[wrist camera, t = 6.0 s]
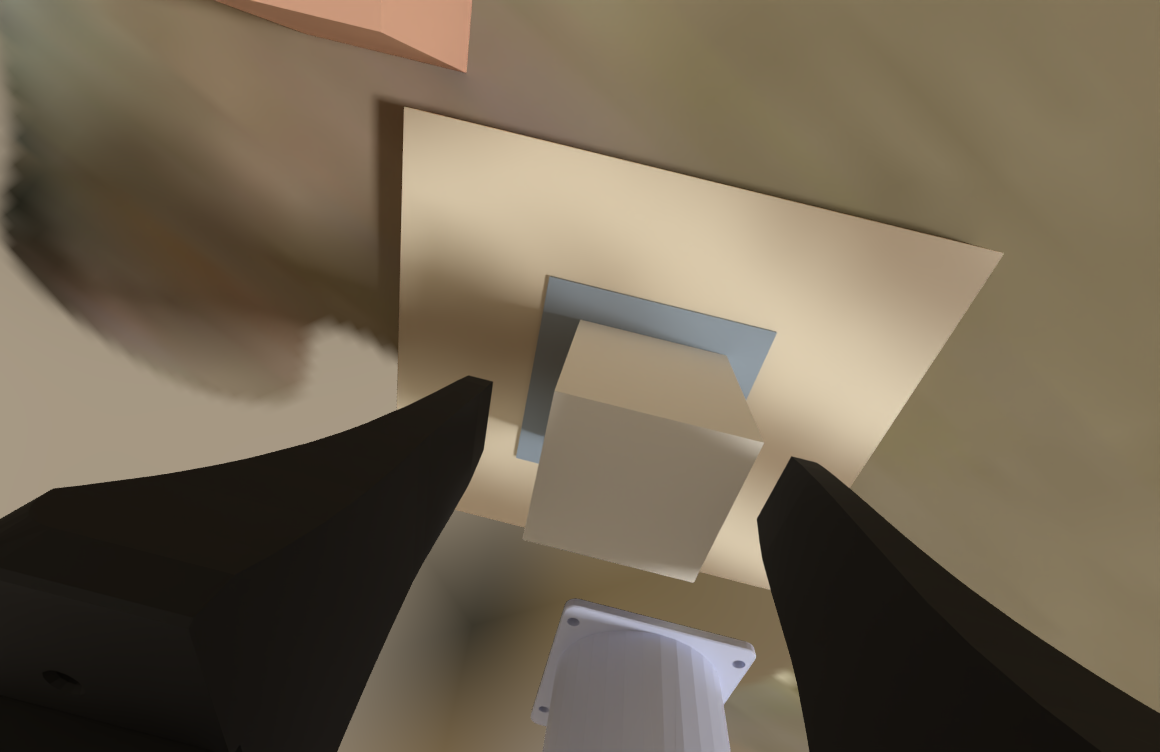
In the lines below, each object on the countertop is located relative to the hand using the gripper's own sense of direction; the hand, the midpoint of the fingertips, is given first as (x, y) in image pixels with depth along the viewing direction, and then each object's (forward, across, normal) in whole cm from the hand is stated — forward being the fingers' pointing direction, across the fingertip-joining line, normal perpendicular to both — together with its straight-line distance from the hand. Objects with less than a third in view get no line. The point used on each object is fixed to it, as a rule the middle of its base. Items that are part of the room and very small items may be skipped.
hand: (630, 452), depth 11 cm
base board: (+3, 0, 0) cm, 3 cm away
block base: (+2, 0, 0) cm, 2 cm away
